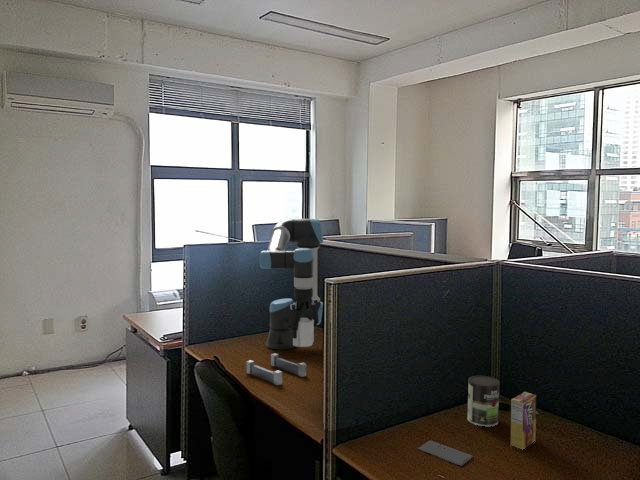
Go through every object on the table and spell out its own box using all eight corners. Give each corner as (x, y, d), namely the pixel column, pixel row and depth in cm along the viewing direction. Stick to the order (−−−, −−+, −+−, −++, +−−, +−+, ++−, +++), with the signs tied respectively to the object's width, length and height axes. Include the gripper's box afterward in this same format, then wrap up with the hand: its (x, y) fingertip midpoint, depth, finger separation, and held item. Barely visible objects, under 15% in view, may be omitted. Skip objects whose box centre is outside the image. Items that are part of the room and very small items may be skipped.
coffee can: (505, 423, 176) (506, 383, 175) (481, 429, 172) (482, 388, 171) (483, 411, 186) (484, 373, 184) (460, 417, 181) (461, 377, 180)
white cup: (314, 341, 213) (314, 317, 212) (312, 347, 205) (312, 322, 204) (295, 341, 214) (295, 317, 213) (292, 347, 206) (292, 322, 205)
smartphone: (429, 439, 164) (474, 455, 154) (429, 442, 164) (474, 458, 154) (416, 448, 159) (461, 465, 148) (416, 451, 159) (461, 468, 148)
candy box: (522, 437, 167) (524, 391, 165) (535, 442, 163) (537, 394, 162) (509, 446, 160) (510, 398, 159) (522, 451, 157) (524, 402, 156)
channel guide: (275, 364, 236) (274, 353, 235) (306, 375, 221) (306, 363, 221) (246, 373, 224) (246, 361, 224) (277, 385, 210) (277, 373, 210)
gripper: (315, 283, 217) (315, 336, 219) (277, 289, 203) (278, 347, 205) (328, 285, 212) (327, 340, 214) (290, 292, 197) (290, 351, 200)
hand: (303, 343), depth 209 cm, fingers closed on white cup, 7 cm apart
